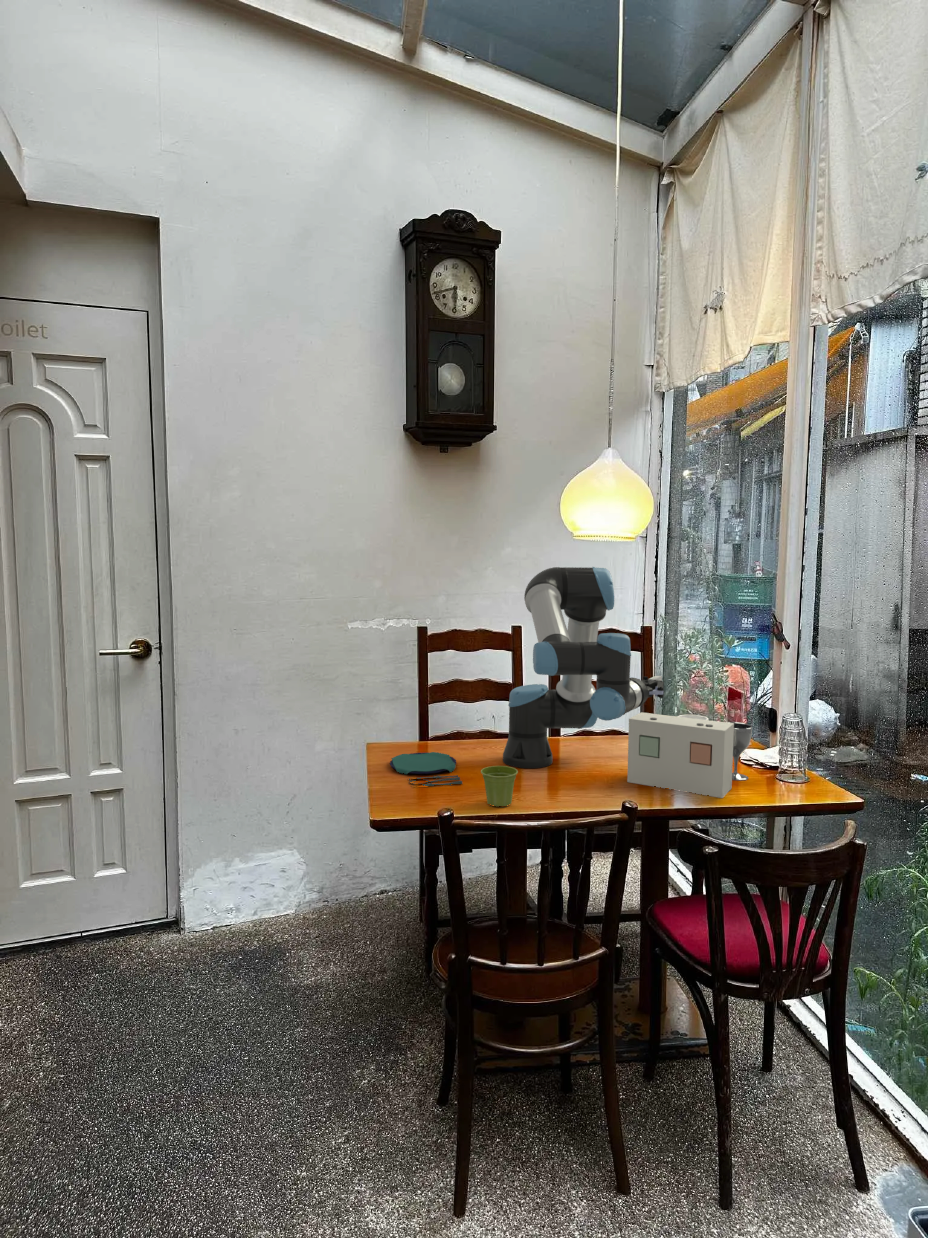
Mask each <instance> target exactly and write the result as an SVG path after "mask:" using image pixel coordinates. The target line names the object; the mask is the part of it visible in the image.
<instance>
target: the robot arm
mask: <svg viewBox="0 0 928 1238" xmlns="http://www.w3.org/2000/svg"><path fill="white" fill-rule="evenodd" d="M614 590H615V588H614V582H613V578H612V575H611V572H610V571H609V569H607V568H606V567H596V566H592V567H582V566H581V567H573V566H572V567H567V566H565V567H559V566H558V567H557V566H556V567H555V566H554V567H549V568H546V569H544V570H542V571H540V572H538V573H537V574H536V575H534V576H533V578H531V579H530V581H529V582H528V583H527V586H526V588H525V590H524V604H525V607H526V610H527V611H528V612H529V613H530V614H531V617H532V622H533V624H534V625H533V626H534V630H535V634H536V638H537V642H536V643H534V645H533V650H532V664H533V667H532V668H533V671H534V672H535V674H537V675H541V676H549V677H551V676H552V677H553V676H562V677H561V680H559V681H558V682H557V683H556V687H555V689H549V688H548V685H546V684H542V683H541V684H540V683H539V684H538V683H536V684H535V683H534V684H525V685H521V686H517V687H515V688H513V689H512V690H511V691H510V692H509V701H508V709H509V711H508V715H509V717H508V737H507V740H506V744H505V747H504V749H503V752H502V762H503V763H504V764H505V765H506V766H508V767H512V768H519V769H520V768H521V769H538V768H539V769H540V768H546V767H549V766H550V765H552V764H553V759H554V757H553V752H552V749H551V746H550V743H549V740H548V729H588V728H593V726H595V724H596V723H597V722H598V719H599V720H602V721H612V720H616V719H620V718H621V717H622V716H624V715H626V714H627V713H629V712H631V711H633V710H636V709H639V708H640V707H642V706H643V705H644V704H645V703H646V701H647V700H648V698H651V697H653V696H655V697H657V698H659V699H662V698H664V689H665V688H664V684H665V683H664V681H663V676H662V675H655V676H652V677H650V678H649V677H648V676H643V677H642V679H640V678H636V677H631V656H632V653H631V649H632V648H631V638H630V637H629V635H627V634H625V633H620V632H617V633H615V632H607V633H605V632H604V633H599V627H600V622H602V621H603V620H604V619H605V618H606V614H607V611H612V610H613V609H614V607H615V591H614ZM563 612H564V614H563ZM563 615H565V617H567V618H568V622H567V623H568V624H567V623H566V622H565V618H564V616H563ZM566 624H567V625H566ZM593 676H596V688H595V686H594V685H593V683H592V679H593Z"/></svg>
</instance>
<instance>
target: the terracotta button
mask: <svg viewBox="0 0 928 1238" xmlns="http://www.w3.org/2000/svg"><path fill="white" fill-rule="evenodd" d="M691 762H694V763H701V764H707V765H710V764H711V763H712V744H704V743H697V742H693V743H691Z"/></svg>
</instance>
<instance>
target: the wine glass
mask: <svg viewBox="0 0 928 1238" xmlns="http://www.w3.org/2000/svg"><path fill="white" fill-rule="evenodd" d="M727 723H734V737H733V763H734V764H733V766H734V767H733V771H732V781H740V782H741V781H747V780H749V776H747V775H745V774H742V773H739V772H738V763H739V758H740V756H741V755H742V753H744V751H745V750H746V749H748V747H749V746H750V743H751V741H752V740H751V739H752V735H753V734H752V733H753V725H751V724H748V723H744V722H737V721H733V722H732V721H731V722H729V721H728V722H727Z"/></svg>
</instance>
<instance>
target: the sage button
mask: <svg viewBox="0 0 928 1238" xmlns="http://www.w3.org/2000/svg"><path fill="white" fill-rule="evenodd" d="M659 754H660V737H653V736H645V735H642V736H640V755H647V756H654V757H658V756H659Z"/></svg>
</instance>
